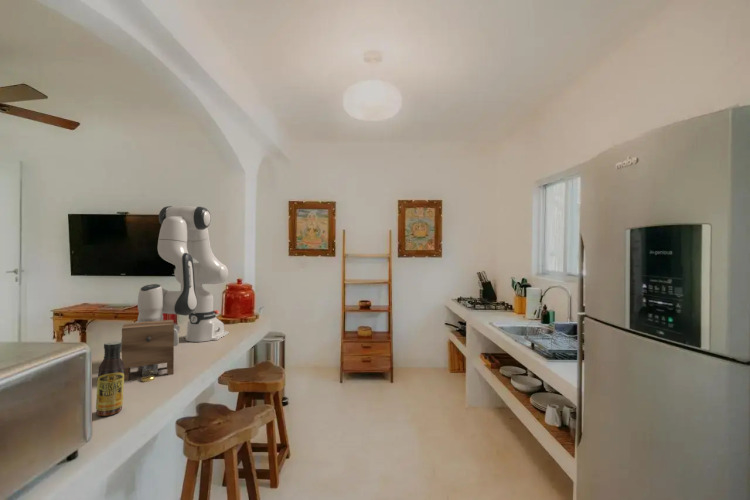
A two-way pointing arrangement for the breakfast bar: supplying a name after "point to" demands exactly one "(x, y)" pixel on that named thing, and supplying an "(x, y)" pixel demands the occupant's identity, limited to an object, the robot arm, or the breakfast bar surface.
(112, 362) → the sauce bottle
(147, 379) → the brass disc
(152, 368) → the scraper
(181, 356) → the breakfast bar surface
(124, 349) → the walnut cabinet
